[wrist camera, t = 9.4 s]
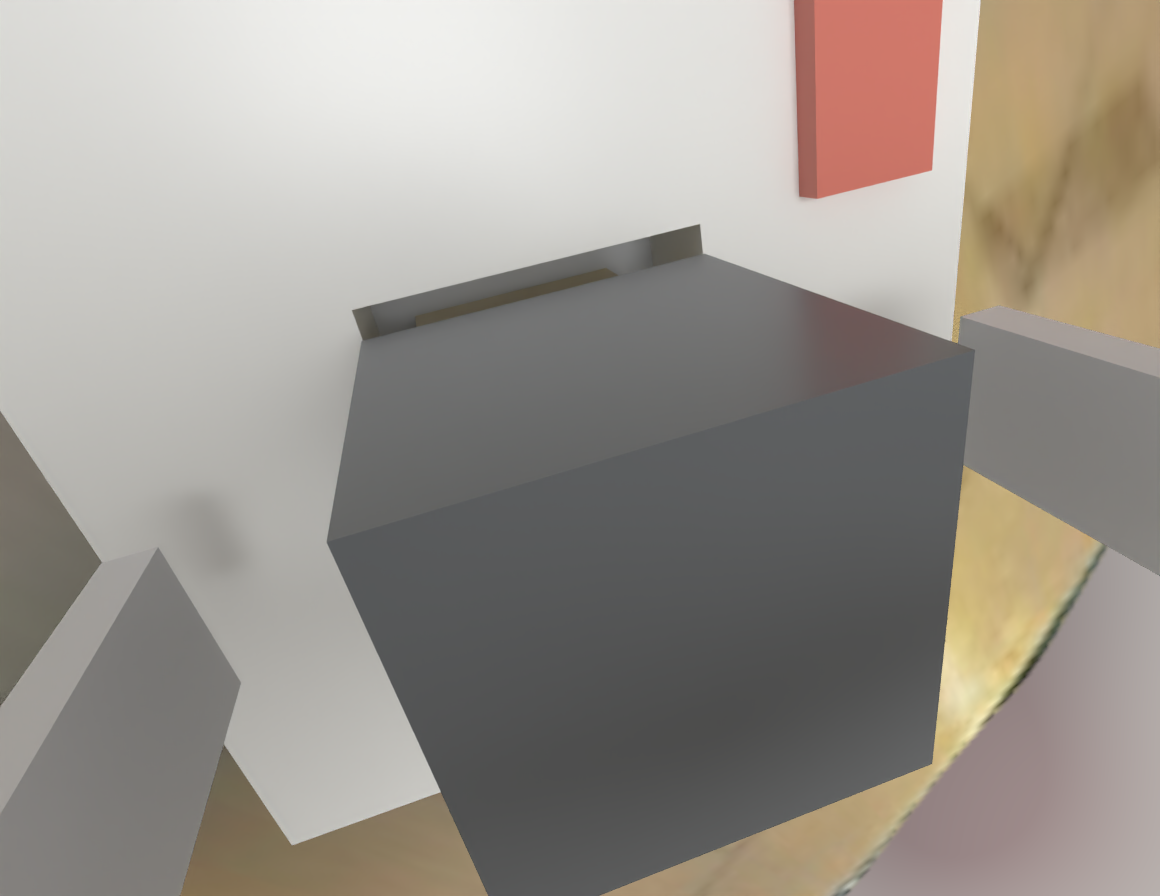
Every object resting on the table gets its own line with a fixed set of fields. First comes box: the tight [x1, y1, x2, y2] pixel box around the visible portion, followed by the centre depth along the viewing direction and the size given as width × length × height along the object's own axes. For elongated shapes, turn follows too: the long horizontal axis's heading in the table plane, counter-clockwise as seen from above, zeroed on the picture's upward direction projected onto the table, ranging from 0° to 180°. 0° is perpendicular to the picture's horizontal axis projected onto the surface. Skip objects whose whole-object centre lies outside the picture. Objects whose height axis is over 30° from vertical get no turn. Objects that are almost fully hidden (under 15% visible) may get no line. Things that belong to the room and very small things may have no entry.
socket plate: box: [0, 0, 981, 845], centre depth 14 cm, size 18×18×4 cm
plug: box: [327, 254, 975, 896], centre depth 11 cm, size 6×6×10 cm
